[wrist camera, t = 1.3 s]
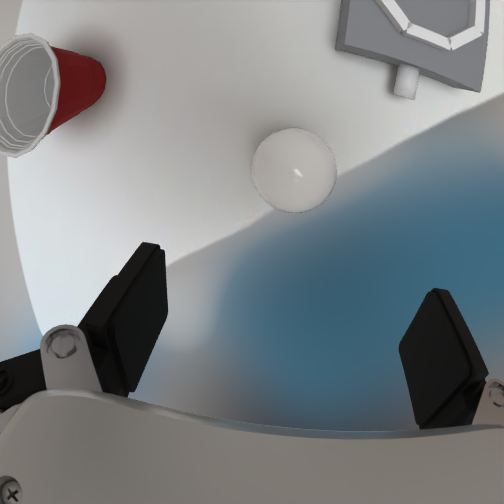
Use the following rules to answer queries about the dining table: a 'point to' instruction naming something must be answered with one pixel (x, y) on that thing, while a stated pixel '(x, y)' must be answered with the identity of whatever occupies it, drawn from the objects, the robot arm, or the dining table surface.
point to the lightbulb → (294, 170)
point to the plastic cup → (42, 90)
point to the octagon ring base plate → (419, 39)
